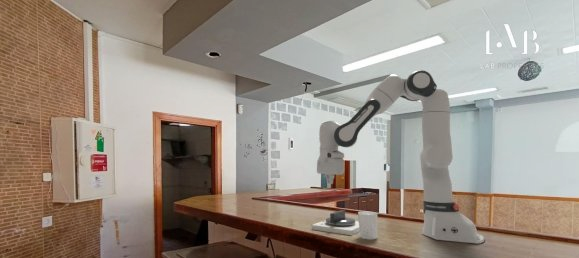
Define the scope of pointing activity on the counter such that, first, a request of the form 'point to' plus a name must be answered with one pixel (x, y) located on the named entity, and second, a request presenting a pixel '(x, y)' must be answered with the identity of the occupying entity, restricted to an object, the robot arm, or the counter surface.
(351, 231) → the dial panel
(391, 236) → the counter surface
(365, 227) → the white cup
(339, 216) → the dial
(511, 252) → the counter surface
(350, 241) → the counter surface
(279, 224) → the counter surface
